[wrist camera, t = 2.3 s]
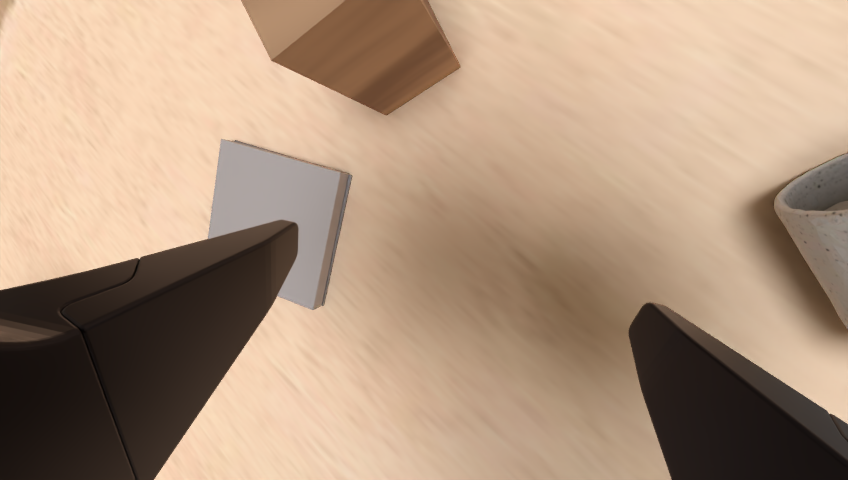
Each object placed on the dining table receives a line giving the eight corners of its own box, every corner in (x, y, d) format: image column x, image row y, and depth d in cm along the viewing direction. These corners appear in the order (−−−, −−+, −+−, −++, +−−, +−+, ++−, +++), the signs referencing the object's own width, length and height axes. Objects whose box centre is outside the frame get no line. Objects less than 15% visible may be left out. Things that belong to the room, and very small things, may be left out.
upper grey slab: (321, 305, 24) (313, 310, 23) (215, 264, 27) (204, 267, 26) (348, 173, 23) (340, 172, 22) (233, 141, 25) (221, 139, 24)
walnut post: (460, 67, 20) (395, -41, 10) (386, 115, 22) (271, 60, 12) (420, -15, 20) (318, -197, 10) (348, 39, 21) (203, -76, 12)
